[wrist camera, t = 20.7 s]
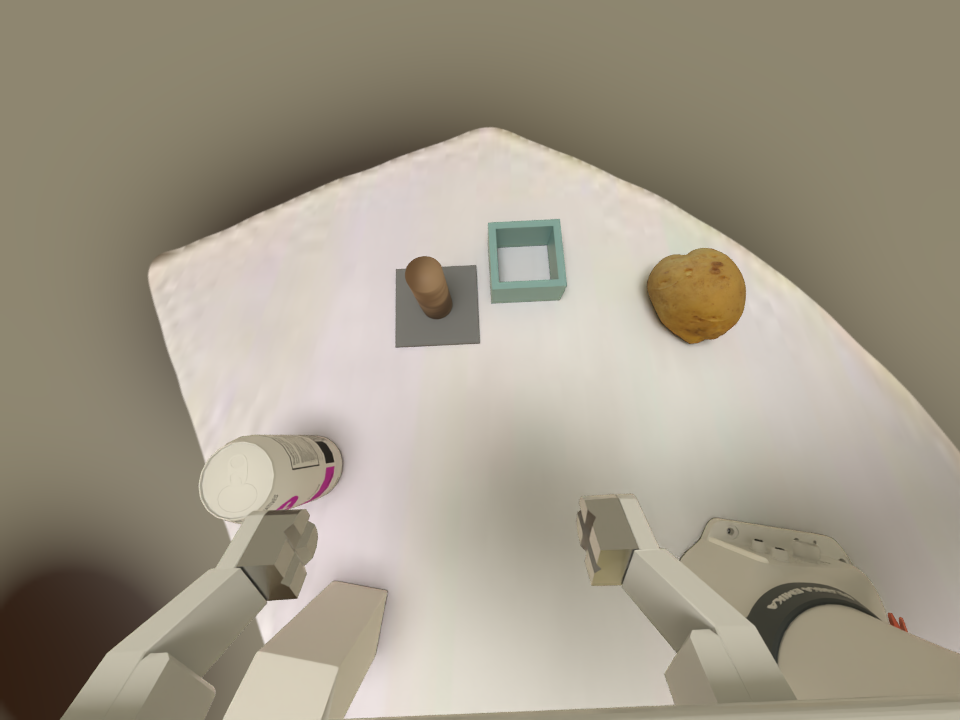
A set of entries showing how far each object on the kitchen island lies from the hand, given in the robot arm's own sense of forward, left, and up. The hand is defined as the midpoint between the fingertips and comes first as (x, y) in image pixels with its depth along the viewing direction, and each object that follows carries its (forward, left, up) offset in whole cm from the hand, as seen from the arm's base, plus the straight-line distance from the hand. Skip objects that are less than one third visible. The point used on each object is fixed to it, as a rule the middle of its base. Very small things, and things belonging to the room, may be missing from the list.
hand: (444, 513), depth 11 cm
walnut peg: (+5, -21, -37) cm, 43 cm away
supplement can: (+22, +1, -38) cm, 44 cm away
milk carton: (+16, +19, -38) cm, 45 cm away
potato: (-30, -19, -38) cm, 52 cm away
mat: (+5, -21, -37) cm, 43 cm away
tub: (-8, -26, -37) cm, 46 cm away
